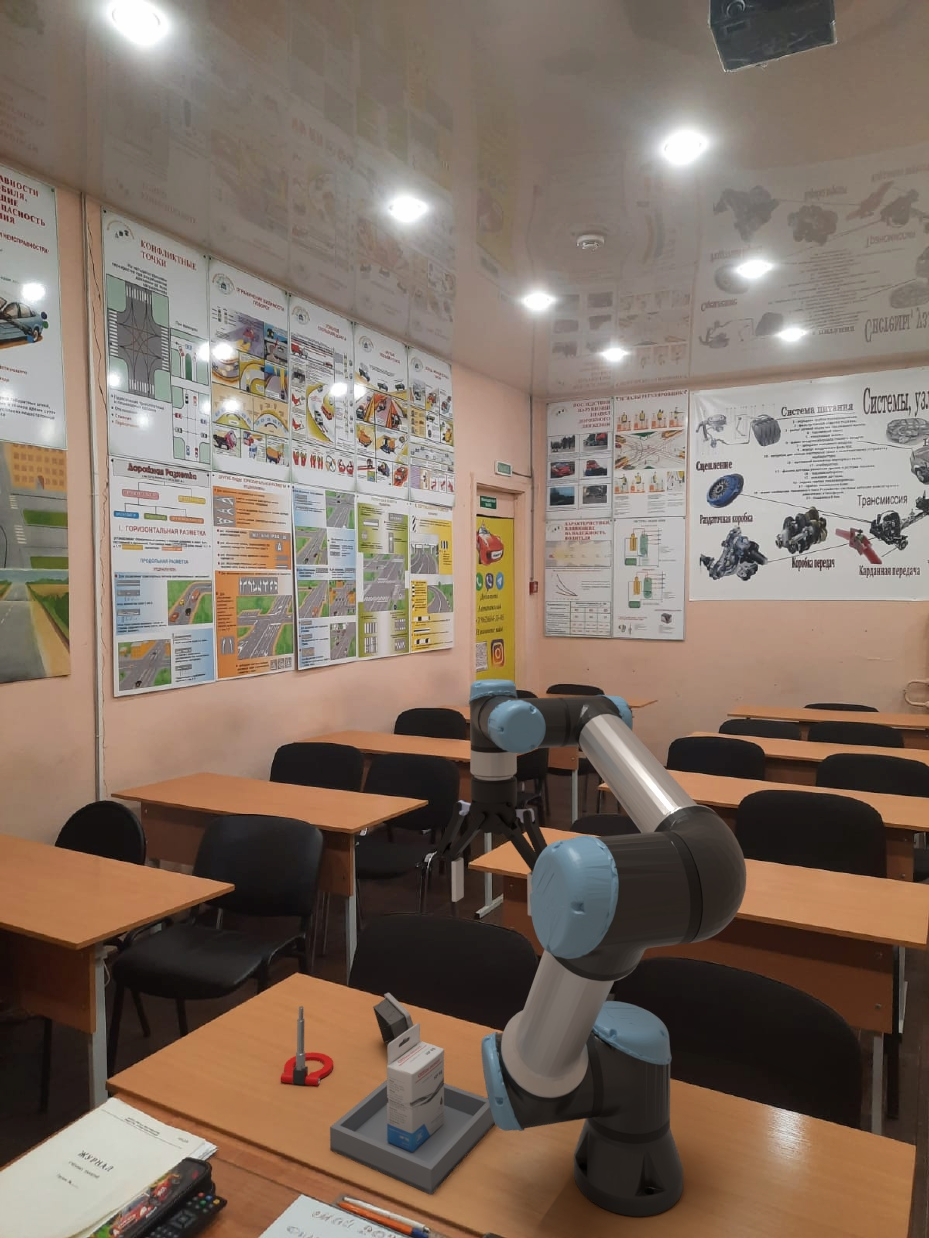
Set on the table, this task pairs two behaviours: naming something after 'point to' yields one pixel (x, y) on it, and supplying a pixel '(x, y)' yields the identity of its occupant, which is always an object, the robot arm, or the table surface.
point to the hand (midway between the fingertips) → (494, 905)
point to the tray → (434, 1158)
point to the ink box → (414, 1090)
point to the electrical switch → (392, 1019)
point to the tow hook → (301, 1071)
